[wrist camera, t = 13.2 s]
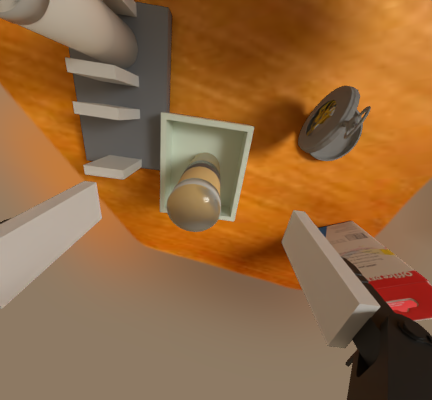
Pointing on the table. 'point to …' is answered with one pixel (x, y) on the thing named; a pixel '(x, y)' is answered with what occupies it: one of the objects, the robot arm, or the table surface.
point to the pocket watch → (333, 125)
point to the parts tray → (198, 143)
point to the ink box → (383, 270)
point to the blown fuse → (197, 195)
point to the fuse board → (125, 95)
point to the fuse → (77, 27)
